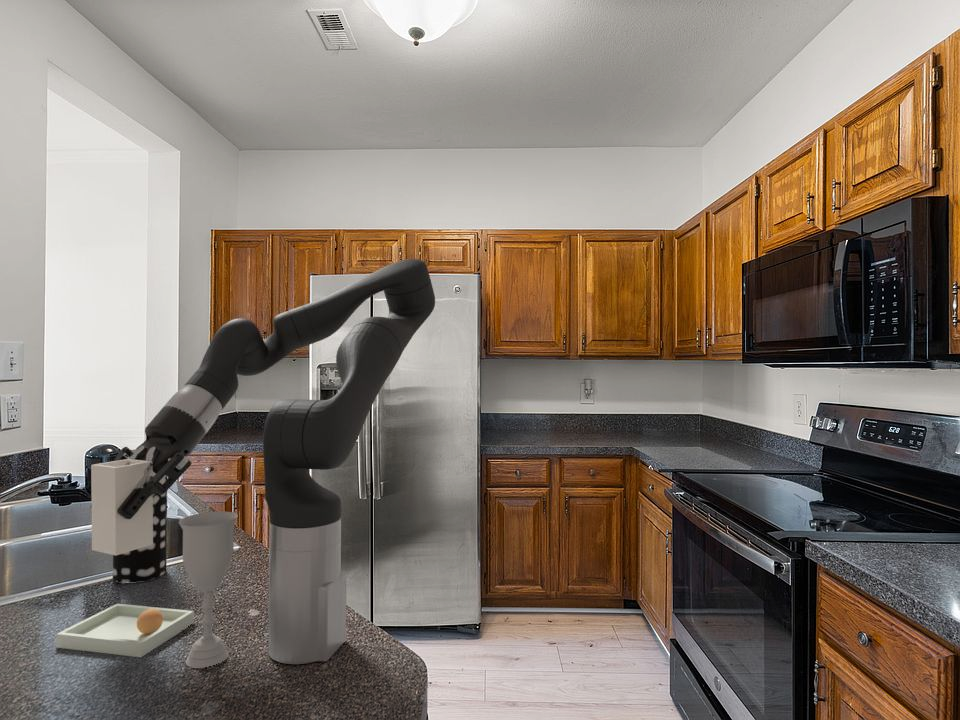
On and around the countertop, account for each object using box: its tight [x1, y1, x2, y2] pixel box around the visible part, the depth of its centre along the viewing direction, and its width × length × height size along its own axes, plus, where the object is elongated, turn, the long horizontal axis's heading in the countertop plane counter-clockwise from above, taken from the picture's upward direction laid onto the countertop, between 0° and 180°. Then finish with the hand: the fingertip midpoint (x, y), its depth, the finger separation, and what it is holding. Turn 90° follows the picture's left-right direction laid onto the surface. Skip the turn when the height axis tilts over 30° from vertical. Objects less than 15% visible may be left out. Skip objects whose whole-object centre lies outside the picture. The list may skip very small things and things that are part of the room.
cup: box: [90, 459, 153, 556], centre depth 84 cm, size 5×5×12 cm
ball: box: [137, 609, 163, 634], centre depth 81 cm, size 3×3×3 cm
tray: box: [55, 603, 195, 658], centre depth 82 cm, size 13×10×2 cm
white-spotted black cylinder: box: [112, 476, 168, 583], centre depth 105 cm, size 8×8×20 cm
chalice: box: [178, 511, 239, 669], centre depth 76 cm, size 7×7×18 cm
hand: (109, 513), depth 82 cm, fingers closed on cup, 5 cm apart
